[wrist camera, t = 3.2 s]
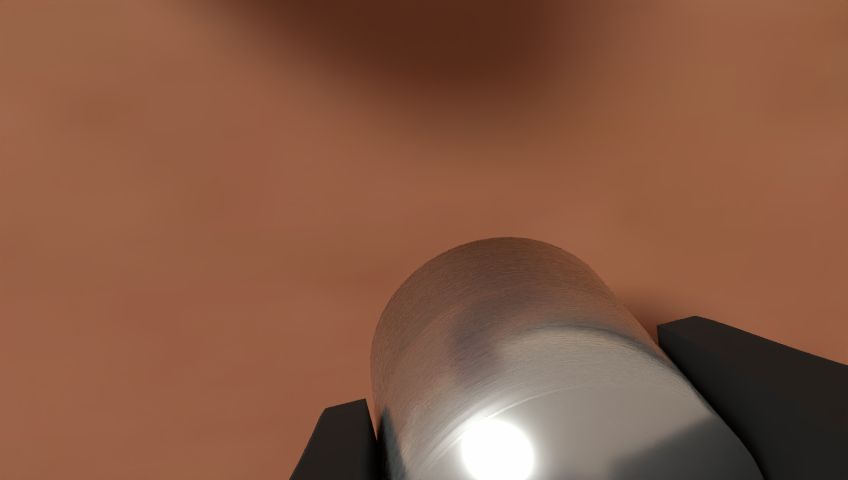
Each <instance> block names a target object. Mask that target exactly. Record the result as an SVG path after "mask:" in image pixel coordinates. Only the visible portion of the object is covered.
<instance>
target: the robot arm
mask: <svg viewBox="0 0 848 480" xmlns="http://www.w3.org/2000/svg"><path fill="white" fill-rule="evenodd" d="M657 333H658V341H659V347H660V348H661V349H662V350H663V351H664V352H665V354H666V355H667V356H668V357H669V358H670V359H671V360H672V362H673V363H674V364H675V365H676V366H677V367H678V369H679V370H680V371H681V372H682V373H683V374H684V376H685V377H686V378H687V379H688V380H689V381H690V383H691V384H692V385H693V386H694V387H695V388H696V390H697V391H698V392H699V393H700V394H701V395H702V396H703V398H704V399H705V400H706V401H707V402H708V403H709V405H710V406H711V407H712V408H713V409H714V410H715V412H716V413H717V414H718V415H719V416H720V417H721V419H722V420H723V421H724V422H725V423H726V424H727V426H728V427H729V428H730V429H731V430H732V431H733V433H734V434H735V435H736V436H737V437H738V438H739V439H740V441H741V442H742V443H743V445H744V446H745V447H746V449H747V450H748V451H749V453H750V454H751V455H752V457H753V459H754V461H755V463H756V464H757V466H758V468H759V470H760V472H761V474H762V477H763V480H848V365H845V364H841V363H838V362H835V361H831V360H828V359H825V358H822V357H819V356H815V355H812V354H809V353H806V352H803V351H800V350H797V349H794V348H791V347H788V346H786V345H783V344H780V343H777V342H774V341H771V340H768V339H765V338H763V337H760V336H757V335H754V334H751V333H748V332H746V331H743V330H740V329H737V328H734V327H731V326H728V325H725V324H722V323H719V322H716V321H713V320H710V319H706V318H702V317H698V316H693V317H689V318H685V319H681V320H677V321H673V322H669V323H665V324H661V325H657ZM289 480H381V475H380V465H379V454H378V444H377V440H376V436H375V432H374V429H373V425H372V421H371V417H370V414H369V410H368V406H367V402H366V399H361V400H357V401H353V402H349V403H345V404H341V405H337V406H333V407H329V408H325V410H324V411H323V413H322V414H321V416H320V418H319V420H318V422H317V425H316V427H315V429H314V431H313V433H312V436H311V438H310V440H309V442H308V444H307V446H306V448H305V450H304V452H303V454H302V456H301V458H300V460H299V462H298V464H297V466H296V468H295V470H294V472H293V473H292V475H291V477H290V479H289Z"/></svg>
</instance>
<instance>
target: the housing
mask: <svg viewBox="0 0 848 480" xmlns="http://www.w3.org/2000/svg"><path fill="white" fill-rule="evenodd" d="M370 363H371V381H372V392H373V402H374V412H375V423H376V433H377V444H378V454H379V465H380V475H381V480H763V477H762V474H761V472H760V470H759V468H758V466H757V464H756V463H755V461H754V459H753V457H752V455H751V454H750V453H749V451H748V450H747V449H746V447H745V446H744V445H743V443H742V442H741V441H740V439H739V438H738V437H737V436H736V435H735V434H734V433H733V431H732V430H731V429H730V428H729V427H728V426H727V424H726V423H725V422H724V421H723V420H722V419H721V417H720V416H719V415H718V414H717V413H716V412H715V410H714V409H713V408H712V407H711V406H710V405H709V403H708V402H707V401H706V400H705V399H704V398H703V396H702V395H701V394H700V393H699V392H698V391H697V390H696V388H695V387H694V386H693V385H692V384H691V383H690V381H689V380H688V379H687V378H686V377H685V376H684V374H683V373H682V372H681V371H680V370H679V369H678V367H677V366H676V365H675V364H674V363H673V362H672V360H671V359H670V358H669V357H668V356H667V355H666V354H665V352H664V351H663V350H662V349H661V348H660V347H659V345H658V344H657V343H656V342H655V341H654V340H653V338H652V337H651V336H650V335H649V334H648V333H647V331H646V330H645V329H644V328H643V327H642V326H641V324H640V323H639V322H638V321H637V320H636V319H635V317H634V316H633V315H632V314H631V313H630V312H629V311H628V309H627V308H626V307H625V306H624V305H623V304H622V302H621V301H620V300H619V299H618V298H617V297H616V295H615V294H614V293H613V292H612V291H611V290H610V288H609V287H608V286H607V285H606V284H605V283H604V281H603V280H602V279H601V278H600V277H599V276H598V275H597V274H596V273H595V272H594V271H593V270H592V269H591V268H590V267H589V266H588V265H587V264H586V263H584V262H583V261H581V260H580V259H579V258H577V257H576V256H574V255H573V254H571V253H569V252H567V251H565V250H563V249H561V248H559V247H556V246H554V245H551V244H548V243H545V242H541V241H537V240H532V239H527V238H516V237H501V238H489V239H483V240H477V241H474V242H470V243H467V244H463V245H460V246H457V247H455V248H453V249H450V250H448V251H446V252H444V253H442V254H440V255H438V256H437V257H435V258H433V259H432V260H430V261H428V262H427V263H425V264H424V265H423V266H422V267H420V268H419V269H418V270H416V271H415V272H414V273H413V274H412V275H411V276H410V277H409V278H408V279H407V280H406V281H405V282H404V283H403V284H402V285H401V286H400V287H399V288H398V290H397V291H396V292H395V294H394V295H393V296H392V297H391V299H390V301H389V302H388V304H387V306H386V307H385V309H384V311H383V313H382V315H381V317H380V320H379V322H378V325H377V327H376V330H375V334H374V338H373V342H372V349H371V357H370Z"/></svg>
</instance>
